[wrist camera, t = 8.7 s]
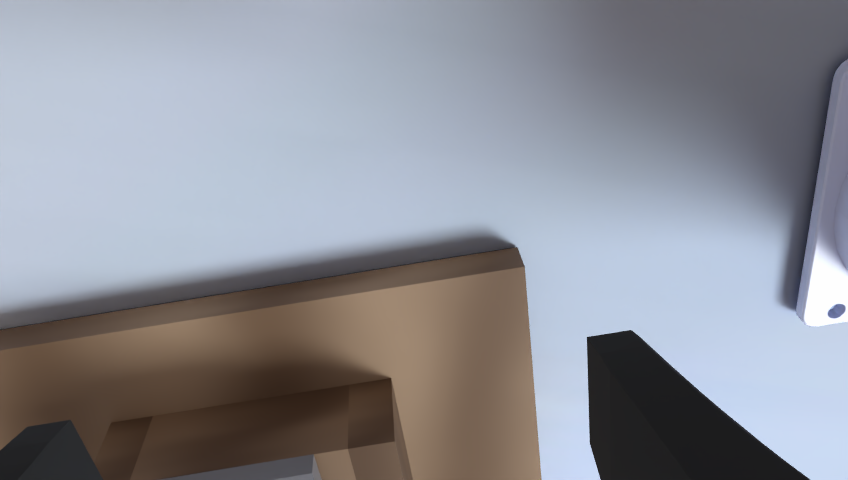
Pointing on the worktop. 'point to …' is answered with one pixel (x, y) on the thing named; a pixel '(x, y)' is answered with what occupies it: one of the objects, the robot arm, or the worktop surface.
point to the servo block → (263, 471)
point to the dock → (297, 377)
